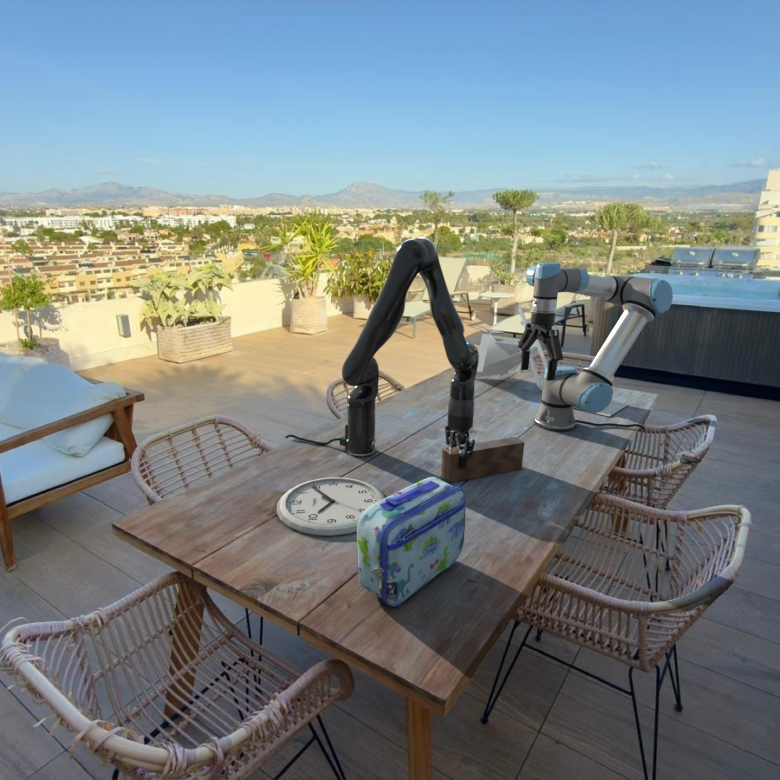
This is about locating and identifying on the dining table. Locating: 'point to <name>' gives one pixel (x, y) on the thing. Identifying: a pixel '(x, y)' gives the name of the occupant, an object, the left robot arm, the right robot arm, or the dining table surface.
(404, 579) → the lunch box
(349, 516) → the wall clock
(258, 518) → the dining table surface
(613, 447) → the dining table surface
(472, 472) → the bar
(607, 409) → the invitation card
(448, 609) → the dining table surface
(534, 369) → the white plastic object
